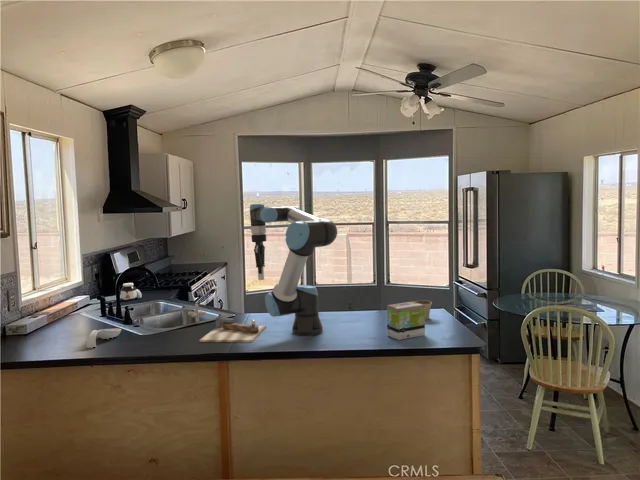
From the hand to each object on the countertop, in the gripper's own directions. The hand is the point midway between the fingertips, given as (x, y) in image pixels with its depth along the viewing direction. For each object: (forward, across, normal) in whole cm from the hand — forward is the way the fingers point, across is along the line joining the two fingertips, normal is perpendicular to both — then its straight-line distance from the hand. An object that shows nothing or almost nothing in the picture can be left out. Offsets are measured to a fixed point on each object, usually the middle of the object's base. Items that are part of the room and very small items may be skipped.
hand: (261, 279), depth 245 cm
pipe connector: (+25, -11, -41) cm, 49 cm away
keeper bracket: (+24, +4, -19) cm, 31 cm away
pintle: (+21, +13, -2) cm, 25 cm away
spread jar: (+23, -76, -116) cm, 140 cm away
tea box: (+26, +15, +72) cm, 78 cm away
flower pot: (+26, -17, +82) cm, 88 cm away
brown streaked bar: (+24, +9, -10) cm, 27 cm away
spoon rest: (+25, +24, -75) cm, 83 cm away
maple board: (+25, +13, -12) cm, 31 cm away
